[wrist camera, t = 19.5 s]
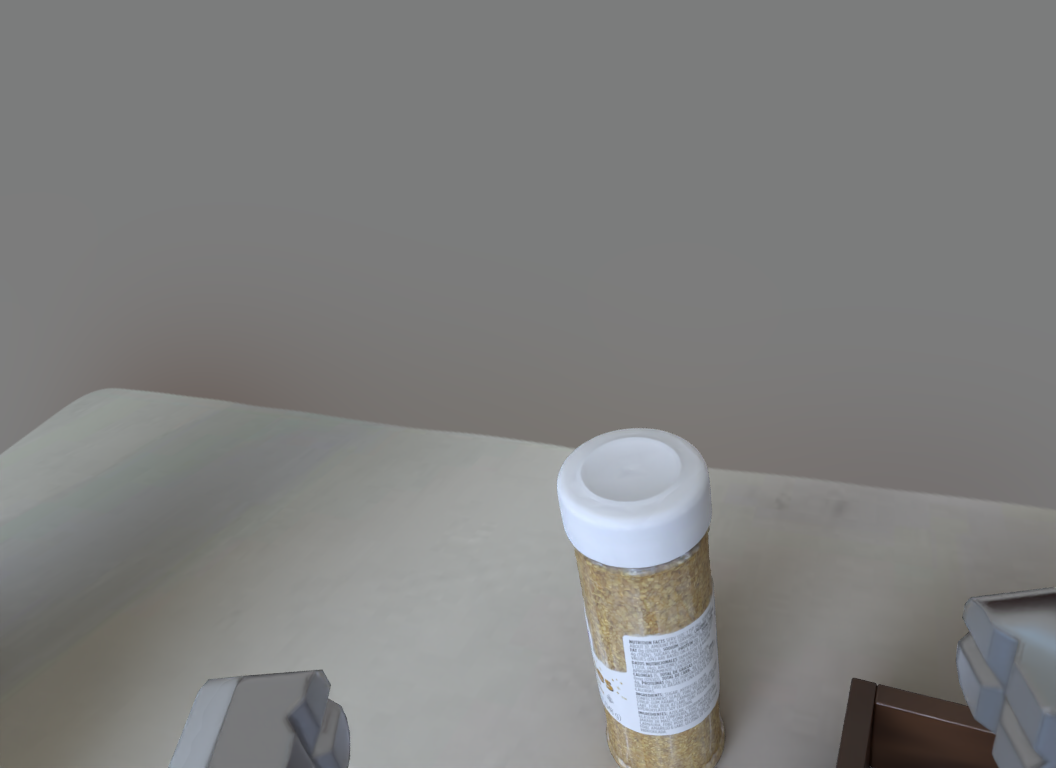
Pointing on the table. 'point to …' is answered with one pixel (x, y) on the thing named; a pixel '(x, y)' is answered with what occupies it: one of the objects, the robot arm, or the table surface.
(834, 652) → the table surface
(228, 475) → the table surface
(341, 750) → the robot arm
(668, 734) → the sprinkles bottle
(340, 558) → the table surface
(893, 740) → the caddy
